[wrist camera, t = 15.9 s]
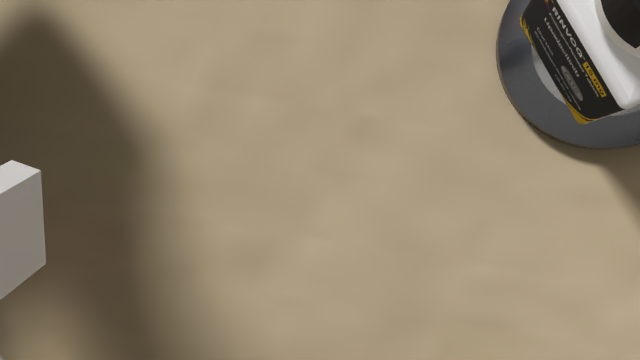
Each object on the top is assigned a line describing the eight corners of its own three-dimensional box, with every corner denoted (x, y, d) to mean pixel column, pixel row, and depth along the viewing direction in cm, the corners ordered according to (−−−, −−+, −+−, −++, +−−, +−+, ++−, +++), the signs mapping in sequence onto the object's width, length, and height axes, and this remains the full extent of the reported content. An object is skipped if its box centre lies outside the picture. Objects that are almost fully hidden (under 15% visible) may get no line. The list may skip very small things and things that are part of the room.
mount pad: (466, 109, 32) (467, 106, 31) (540, -80, 31) (544, -91, 30) (669, 178, 30) (679, 178, 28) (754, -23, 29) (768, -32, 28)
